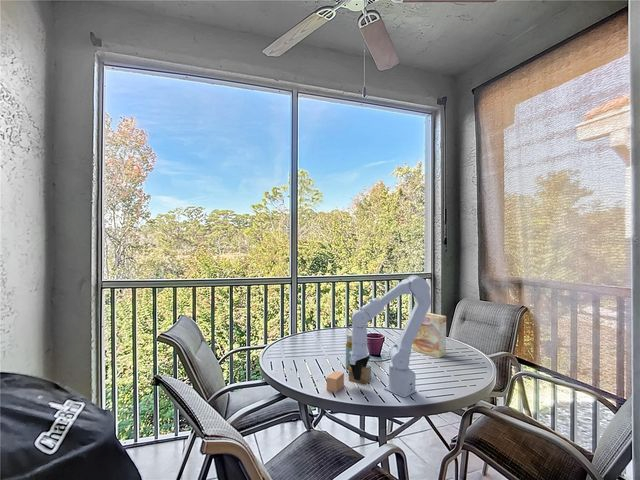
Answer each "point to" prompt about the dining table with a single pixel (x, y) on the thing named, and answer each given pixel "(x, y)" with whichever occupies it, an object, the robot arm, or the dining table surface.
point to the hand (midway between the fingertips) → (359, 377)
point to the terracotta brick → (335, 381)
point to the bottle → (348, 349)
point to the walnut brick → (364, 376)
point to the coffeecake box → (431, 336)
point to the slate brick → (370, 369)
